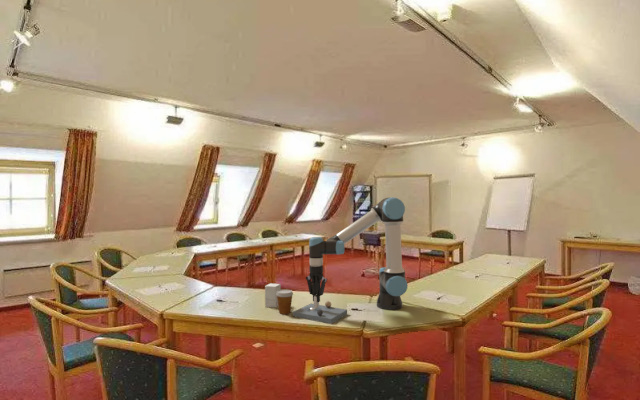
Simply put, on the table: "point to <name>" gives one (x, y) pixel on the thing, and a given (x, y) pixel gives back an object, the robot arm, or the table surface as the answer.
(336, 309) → the board
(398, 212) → the robot arm
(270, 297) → the supplement box
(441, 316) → the table surface
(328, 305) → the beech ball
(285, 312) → the disposable coffee cup
